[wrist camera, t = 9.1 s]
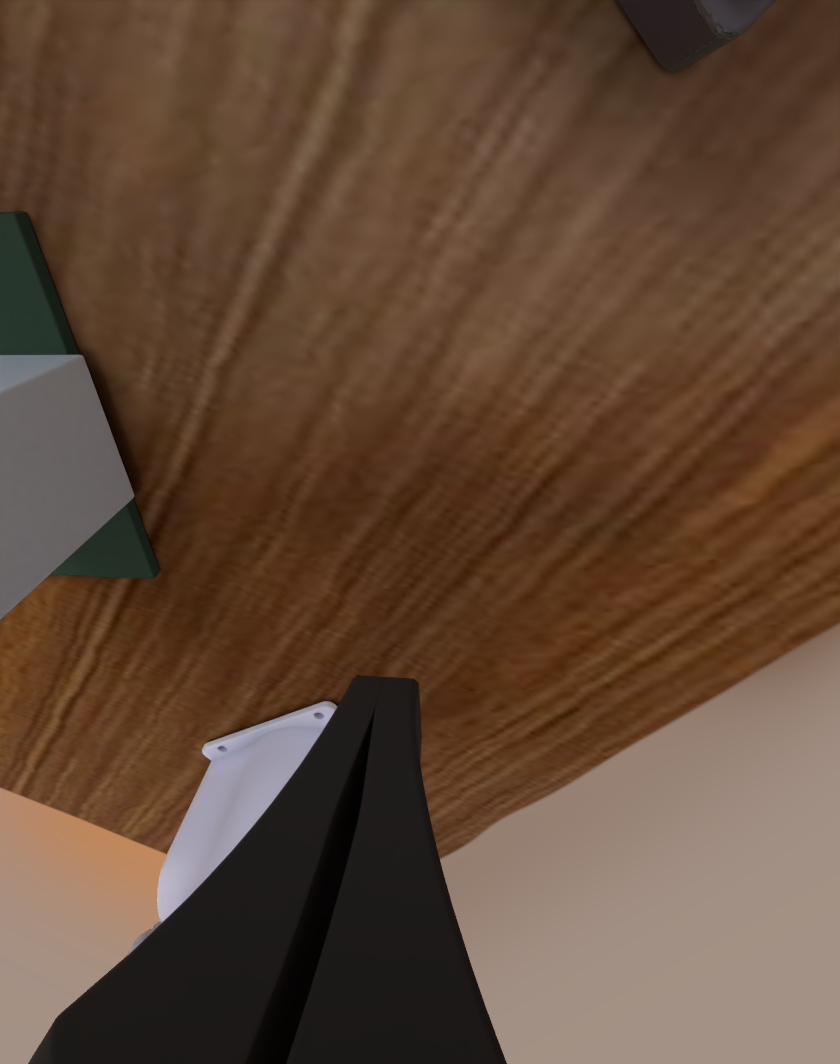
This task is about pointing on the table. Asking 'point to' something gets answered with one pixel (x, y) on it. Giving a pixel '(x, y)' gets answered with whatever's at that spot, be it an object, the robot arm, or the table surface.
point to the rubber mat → (41, 329)
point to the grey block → (51, 468)
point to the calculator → (690, 26)
